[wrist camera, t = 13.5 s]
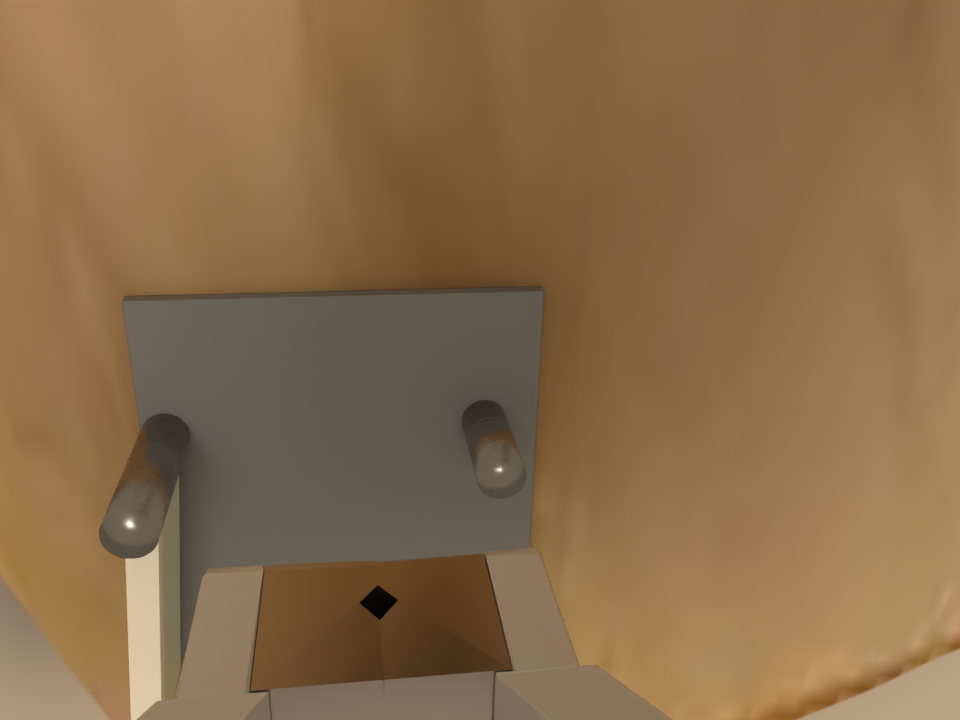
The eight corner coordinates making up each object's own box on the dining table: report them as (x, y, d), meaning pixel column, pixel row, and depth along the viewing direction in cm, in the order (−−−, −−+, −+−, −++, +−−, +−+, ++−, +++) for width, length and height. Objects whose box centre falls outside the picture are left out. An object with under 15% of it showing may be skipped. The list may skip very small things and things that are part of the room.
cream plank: (149, 471, 38) (124, 540, 34) (179, 472, 39) (158, 540, 34) (154, 667, 43) (132, 751, 38) (180, 667, 43) (162, 751, 38)
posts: (504, 393, 41) (541, 487, 33) (503, 432, 41) (537, 533, 34) (140, 408, 38) (94, 512, 31) (146, 449, 39) (103, 560, 32)
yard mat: (541, 286, 39) (544, 291, 38) (522, 623, 46) (524, 631, 45) (125, 296, 36) (122, 301, 36) (174, 650, 44) (172, 659, 43)
